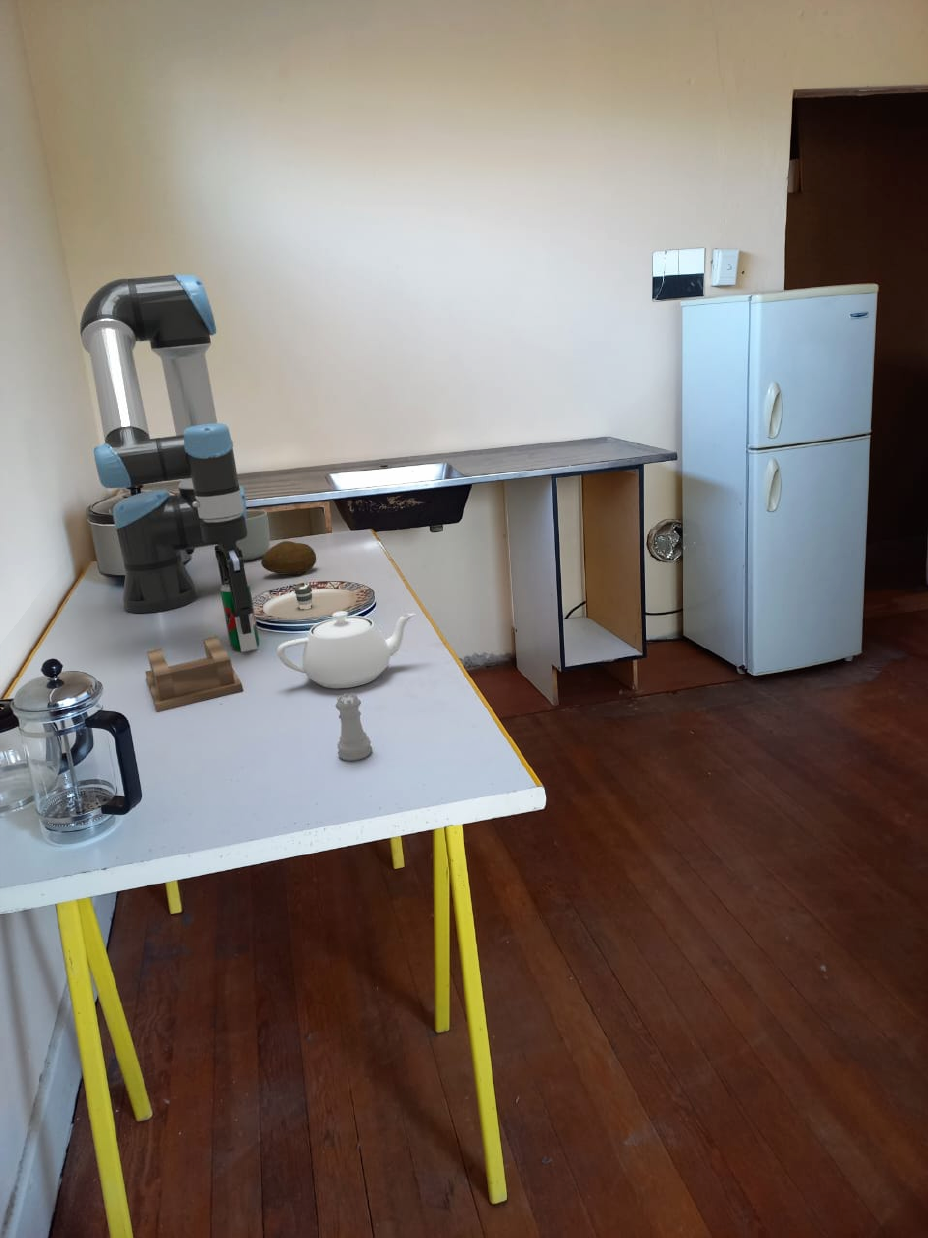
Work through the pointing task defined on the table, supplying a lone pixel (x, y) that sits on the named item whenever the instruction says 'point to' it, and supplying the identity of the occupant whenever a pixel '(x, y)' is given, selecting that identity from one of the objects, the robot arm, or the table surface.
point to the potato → (289, 558)
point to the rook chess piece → (352, 730)
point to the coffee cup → (303, 594)
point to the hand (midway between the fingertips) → (245, 643)
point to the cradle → (191, 677)
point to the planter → (255, 535)
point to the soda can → (231, 621)
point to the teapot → (345, 650)
